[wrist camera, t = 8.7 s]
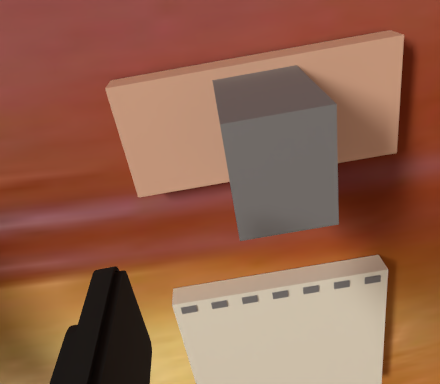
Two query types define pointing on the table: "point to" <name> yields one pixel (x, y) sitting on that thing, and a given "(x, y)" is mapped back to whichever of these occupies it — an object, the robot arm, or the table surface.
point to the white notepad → (288, 325)
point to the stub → (264, 127)
